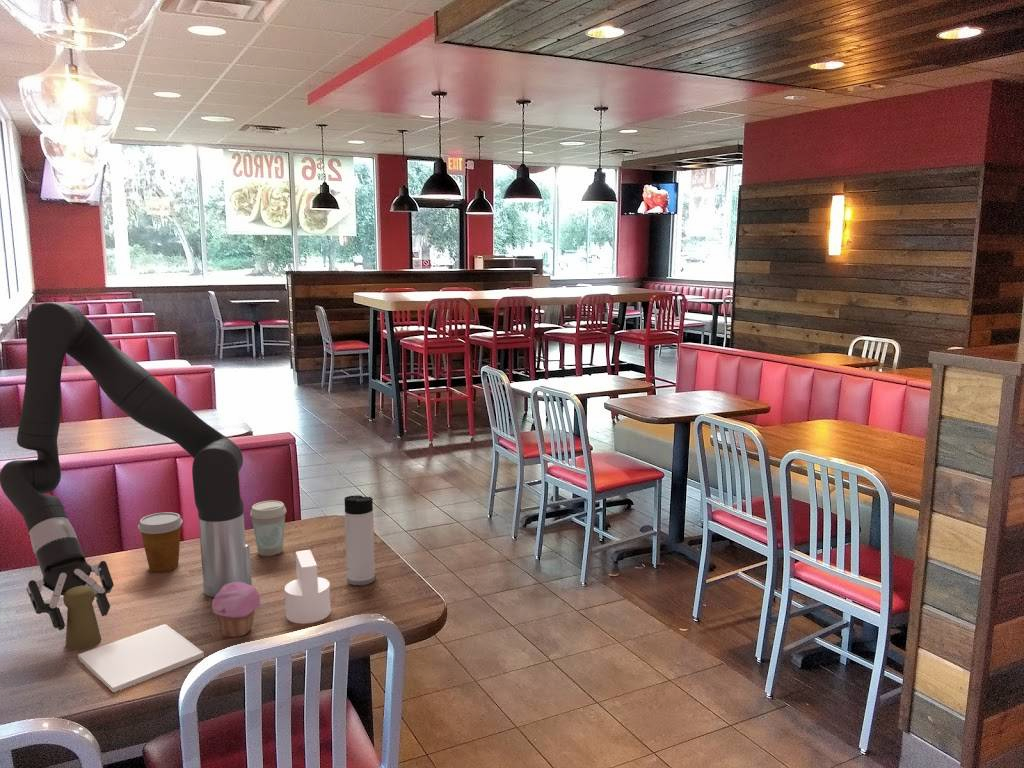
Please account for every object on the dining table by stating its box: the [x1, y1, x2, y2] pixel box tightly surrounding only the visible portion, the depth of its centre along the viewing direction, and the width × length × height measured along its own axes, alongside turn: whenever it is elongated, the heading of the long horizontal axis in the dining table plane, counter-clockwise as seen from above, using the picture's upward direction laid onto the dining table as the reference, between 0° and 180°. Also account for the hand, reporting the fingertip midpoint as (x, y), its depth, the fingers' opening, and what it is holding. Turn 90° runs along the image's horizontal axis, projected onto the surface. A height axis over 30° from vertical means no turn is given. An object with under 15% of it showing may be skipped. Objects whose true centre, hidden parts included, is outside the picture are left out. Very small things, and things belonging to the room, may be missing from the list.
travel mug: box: [343, 495, 376, 586], centre depth 175 cm, size 6×7×20 cm
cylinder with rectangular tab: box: [284, 549, 332, 624], centre depth 160 cm, size 9×9×12 cm
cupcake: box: [211, 582, 261, 638], centre depth 152 cm, size 9×9×10 cm
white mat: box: [77, 623, 205, 693], centre depth 143 cm, size 16×16×1 cm
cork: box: [62, 586, 102, 651], centre depth 148 cm, size 6×6×11 cm
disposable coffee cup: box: [137, 511, 184, 573], centre depth 183 cm, size 10×10×12 cm
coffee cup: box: [249, 500, 287, 557], centre depth 192 cm, size 9×8×12 cm
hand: (84, 620), depth 147 cm, fingers open, 7 cm apart
